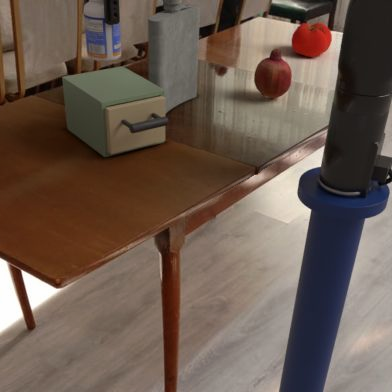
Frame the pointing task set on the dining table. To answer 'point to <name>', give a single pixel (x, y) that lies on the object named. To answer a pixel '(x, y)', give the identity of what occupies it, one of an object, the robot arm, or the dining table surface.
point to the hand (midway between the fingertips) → (102, 18)
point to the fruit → (273, 75)
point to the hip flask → (174, 51)
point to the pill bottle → (101, 33)
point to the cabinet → (101, 102)
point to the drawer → (135, 124)
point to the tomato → (311, 39)
